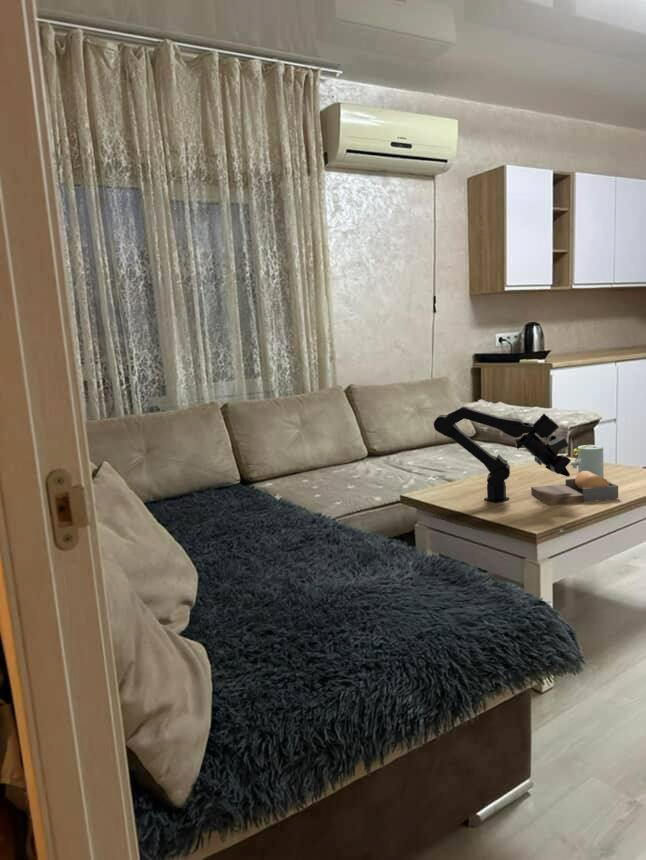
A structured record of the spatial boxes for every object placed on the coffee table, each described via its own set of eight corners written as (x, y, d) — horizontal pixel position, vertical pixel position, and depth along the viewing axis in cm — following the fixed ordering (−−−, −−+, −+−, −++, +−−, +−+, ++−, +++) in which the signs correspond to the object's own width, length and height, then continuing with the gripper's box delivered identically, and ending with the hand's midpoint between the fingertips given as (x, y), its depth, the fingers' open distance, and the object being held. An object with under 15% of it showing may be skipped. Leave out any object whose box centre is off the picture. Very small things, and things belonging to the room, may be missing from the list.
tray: (584, 501, 207) (583, 488, 206) (565, 491, 221) (565, 479, 220) (618, 498, 207) (618, 485, 206) (597, 488, 221) (597, 476, 221)
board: (548, 505, 206) (548, 498, 205) (531, 493, 222) (531, 487, 221) (584, 502, 206) (584, 495, 206) (564, 491, 222) (563, 484, 221)
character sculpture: (582, 473, 245) (581, 440, 243) (612, 476, 237) (611, 442, 235) (561, 484, 231) (561, 449, 229) (593, 488, 223) (592, 452, 221)
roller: (595, 474, 207) (585, 491, 208) (613, 483, 208) (602, 500, 209) (581, 467, 218) (571, 484, 219) (598, 476, 219) (588, 493, 220)
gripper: (564, 433, 201) (597, 463, 203) (542, 425, 220) (572, 453, 221) (541, 458, 202) (574, 488, 204) (521, 449, 220) (552, 476, 222)
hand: (568, 475), depth 213 cm, fingers closed
